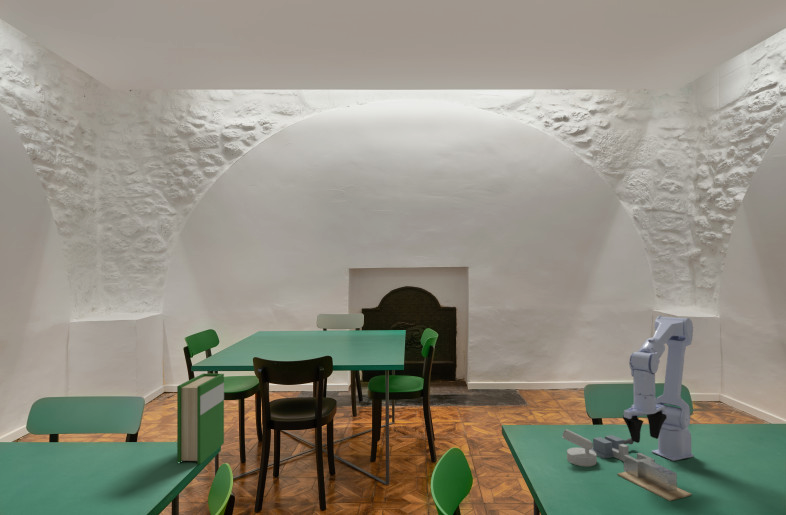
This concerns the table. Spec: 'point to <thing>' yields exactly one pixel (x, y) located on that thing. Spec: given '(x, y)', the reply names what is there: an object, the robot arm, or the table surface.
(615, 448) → the vise
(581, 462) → the wall hook
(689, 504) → the table surface
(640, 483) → the cork mat
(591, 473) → the table surface
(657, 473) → the steel fork
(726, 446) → the table surface
